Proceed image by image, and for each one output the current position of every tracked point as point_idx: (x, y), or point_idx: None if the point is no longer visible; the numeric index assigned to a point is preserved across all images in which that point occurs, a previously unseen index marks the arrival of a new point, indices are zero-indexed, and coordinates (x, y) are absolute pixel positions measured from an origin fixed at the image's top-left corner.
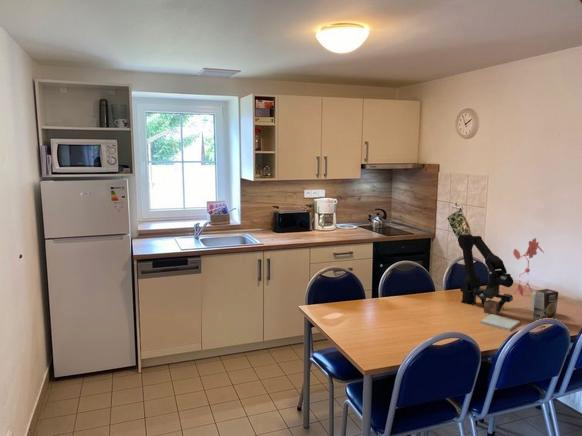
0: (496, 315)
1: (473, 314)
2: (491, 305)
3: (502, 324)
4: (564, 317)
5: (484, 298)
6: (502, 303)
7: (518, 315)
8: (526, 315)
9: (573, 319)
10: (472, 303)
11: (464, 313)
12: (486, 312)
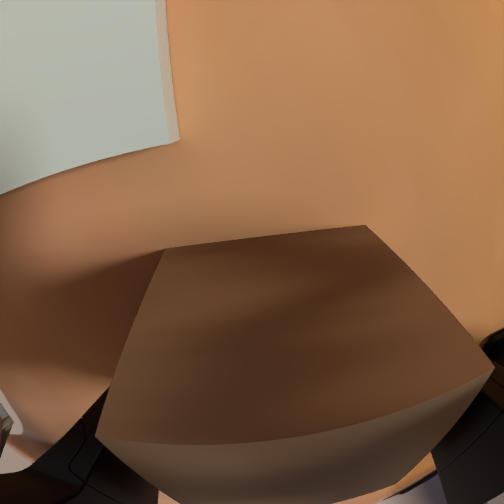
0: (64, 161)
1: (423, 16)
2: (254, 380)
3: None
4: (26, 452)
5: (485, 455)
6: (9, 474)
7: (71, 406)
8: (63, 426)
9: (8, 444)
10: (487, 352)
11: (486, 6)
12: (325, 235)
